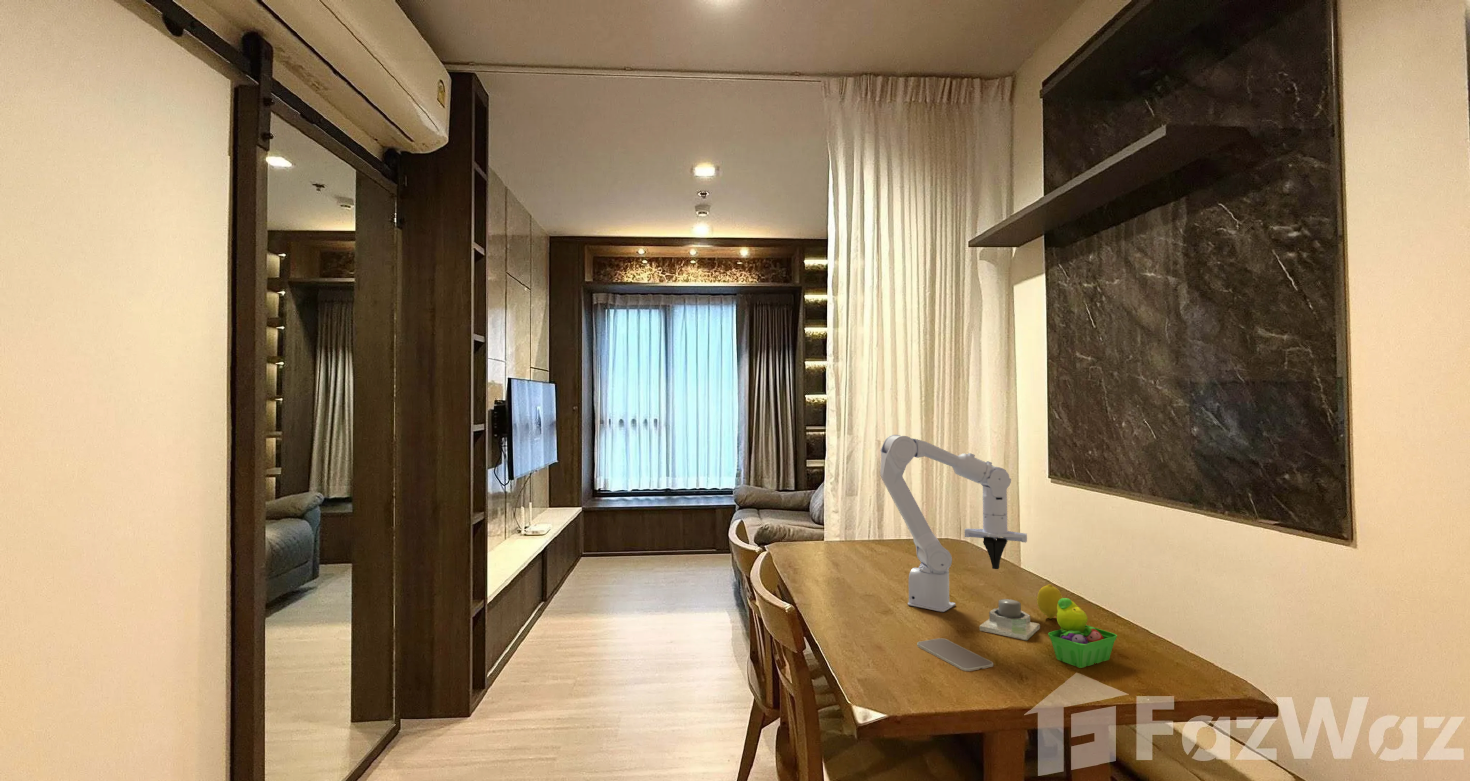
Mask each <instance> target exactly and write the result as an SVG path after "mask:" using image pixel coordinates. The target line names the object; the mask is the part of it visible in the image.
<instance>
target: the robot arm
mask: <svg viewBox="0 0 1470 781" xmlns="http://www.w3.org/2000/svg"><path fill="white" fill-rule="evenodd" d="M924 457H925V458H927V459H931V460H933V461H936V462H939V463H942V464H944V465H947V466H949V467H951V468H952V470H953V471H954V474H955V475H957V476H960V477H963V478H964V479H967V480H969V481H972V482H974V483H977V484H980V485H981V487H982V528H967V527H966V528H964V538H977V539H978V538H979V539H983V541H982V542H983V546H984V547H985V549H986V551H987V553H988V557H989V560H990V563H991V568H992V569H993V570H999V569H1000V565H1001V564H1000V563H1001V560H1002V556H1003V552H1004V551H1005V547H1006V546H1007V543H1008V541H1009V542H1010V541H1011V542H1021V543H1025V544H1026V543H1028V533H1024V532H1019V531H1017V532H1016V531H1009V530H1008V496H1007V495H1008V492H1007V490H1008V488H1009V487H1010V485H1011V483H1012V478H1010V474H1009V472H1008V471H1007V470H1006V469H1004V468H1003V467H999V466H994V465H993V463H992V461H989V460H988V461H984V460H982V459H980V458H977V457H976V455H975V454H974V453H971V452H968V453H965V452H964V453H963V452H962V453H961V454H958V455H957V454H955V453H952V452H950V451H947V450H946V449H943V448H941V447H939V446H936V445H934V444H932V443H930V442H927V441H926V440H922V439H916V438H912V437H910V436H907V435H900V434H891V435H889V436H887V437H886V438H885V440H884V441H883V444H882V446H881V448H880V471H879V474H880V478H881V480H882V482H883V484H884V486H885V488H886V489H887V492H888V494H889V495H890V498H891V499H892V501H893V503H894V504H895V506H896V508H897V510H898V512H899V514H900V516H901V517H902V520H903V521H904V524H905V525H906V526H907V529H908V530H909V533H910V534H911V536H912V539H913V544H914V546H915V550H916V556H917V557H916V558H917V559H918V560H919V561H920V564H919V566H918V567H912V568H911V570H910V571H909V574H908V602H907V605H908V606H911V607H915V608H921V609H927V610H932V611H936V612H941V613H944V612H947V611H949V610H950V609H951V608H953V607H955V606H956V602H952V601H950V568H951V566H952V562H953V558H952V554H951V553H950V551H949V550H948V549H947V548H945V546H943V545H942V544H941V542H940V540H939V539H938V537H937V536H936V535H935V534H934V532H933V531H932V529H931V527H930V525H929V523H928V521H927V520H926V518H925V516H924V513H923V512H922V510H921V508H920V507H919V505H918V502H917V501H916V500H915V497H914V495H913V494H912V492H911V490H910V488H909V486H908V484H907V483H906V481H905V478H904V473H905V470H906V467H907V466H908V464H910V462H911V461H912V460H913V459H914V458H924Z"/></svg>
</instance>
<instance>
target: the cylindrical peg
mask: <svg viewBox="0 0 1470 781" xmlns="http://www.w3.org/2000/svg"><path fill="white" fill-rule="evenodd" d="M1021 606H1022V604H1021V602H1020V601H1018V600H1014V599H1010V598H1009V599H1007V598H1003V599H999V600H998V608H999V616H1003V617H1008V618H1021V611H1022V609H1021V608H1022V607H1021Z"/></svg>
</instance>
